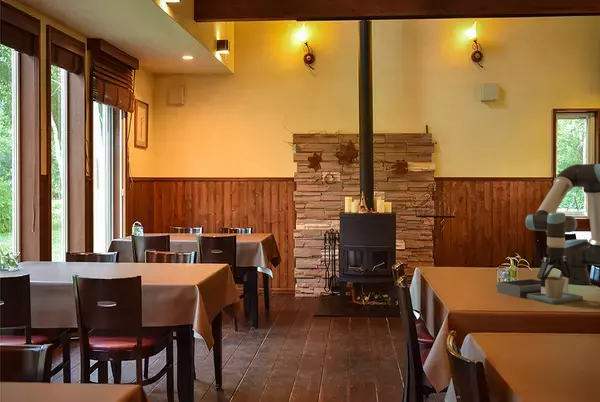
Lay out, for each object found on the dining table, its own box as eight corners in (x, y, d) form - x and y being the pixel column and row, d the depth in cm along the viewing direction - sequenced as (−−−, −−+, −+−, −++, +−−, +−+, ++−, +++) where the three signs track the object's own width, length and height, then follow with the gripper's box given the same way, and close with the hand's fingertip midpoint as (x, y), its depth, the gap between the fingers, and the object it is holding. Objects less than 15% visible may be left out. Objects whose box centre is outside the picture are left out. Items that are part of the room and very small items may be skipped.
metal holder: (531, 288, 287) (531, 278, 287) (554, 293, 274) (555, 283, 274) (497, 292, 277) (497, 281, 276) (519, 297, 264) (520, 286, 264)
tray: (556, 294, 271) (557, 290, 271) (582, 300, 259) (583, 296, 259) (526, 298, 262) (526, 293, 262) (551, 304, 250) (551, 299, 250)
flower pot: (568, 299, 255) (568, 280, 255) (545, 298, 257) (546, 279, 257) (562, 295, 264) (563, 277, 264) (541, 294, 266) (541, 276, 266)
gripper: (567, 244, 269) (566, 289, 269) (529, 246, 258) (528, 293, 258) (581, 246, 262) (580, 292, 263) (542, 248, 251) (541, 296, 252)
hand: (554, 292), depth 260 cm, fingers open, 13 cm apart
